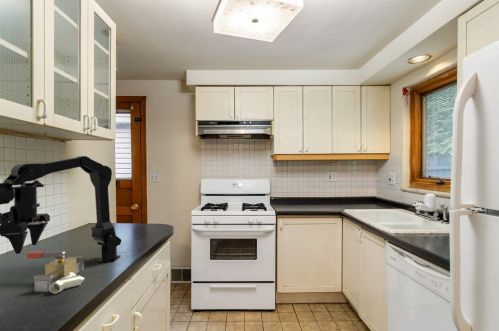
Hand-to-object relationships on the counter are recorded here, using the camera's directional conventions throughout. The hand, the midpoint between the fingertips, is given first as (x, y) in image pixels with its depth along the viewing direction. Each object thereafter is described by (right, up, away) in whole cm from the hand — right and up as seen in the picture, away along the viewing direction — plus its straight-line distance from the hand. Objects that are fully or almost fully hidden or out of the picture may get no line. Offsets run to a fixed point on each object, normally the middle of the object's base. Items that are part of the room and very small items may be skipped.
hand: (26, 249), depth 88 cm
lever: (+3, -5, +6) cm, 8 cm away
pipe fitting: (+14, -13, 0) cm, 19 cm away
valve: (+8, -13, +6) cm, 16 cm away
